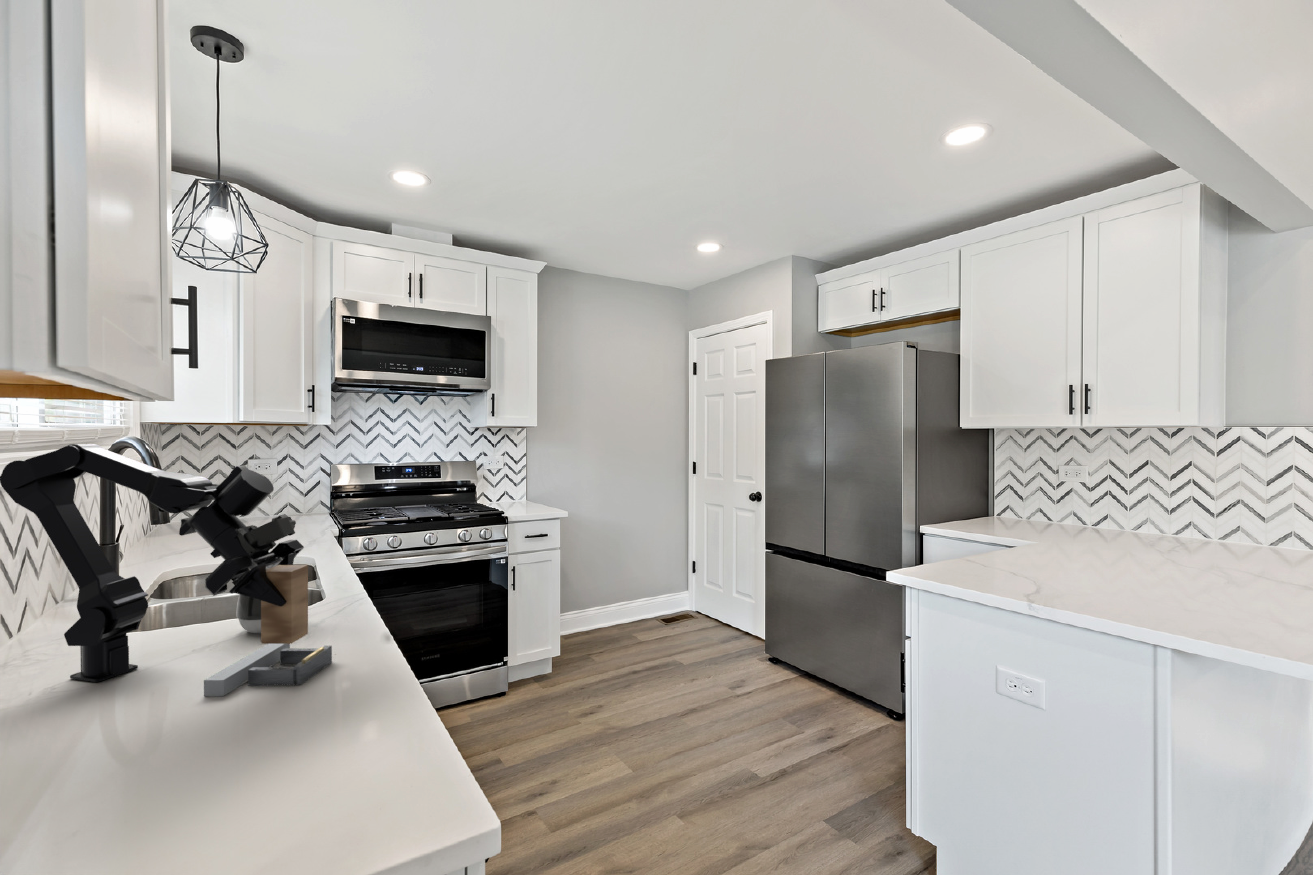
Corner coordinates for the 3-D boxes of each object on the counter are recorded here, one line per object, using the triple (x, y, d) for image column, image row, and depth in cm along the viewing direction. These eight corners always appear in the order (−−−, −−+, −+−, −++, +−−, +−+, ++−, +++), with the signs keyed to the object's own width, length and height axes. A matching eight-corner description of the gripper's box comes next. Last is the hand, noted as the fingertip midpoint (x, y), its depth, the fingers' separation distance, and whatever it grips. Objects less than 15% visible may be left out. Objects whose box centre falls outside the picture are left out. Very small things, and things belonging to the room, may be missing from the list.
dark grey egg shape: (280, 618, 136) (280, 549, 136) (303, 627, 130) (303, 555, 130) (227, 631, 128) (226, 557, 128) (249, 641, 122) (248, 563, 122)
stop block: (261, 643, 104) (261, 571, 103) (278, 633, 109) (278, 564, 108) (291, 643, 104) (291, 571, 103) (307, 633, 109) (307, 564, 108)
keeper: (248, 685, 101) (248, 664, 101) (284, 662, 111) (284, 643, 111) (300, 685, 101) (300, 664, 101) (331, 662, 111) (331, 643, 111)
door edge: (203, 696, 97) (203, 680, 97) (273, 654, 115) (273, 640, 115) (223, 696, 97) (223, 680, 97) (289, 654, 115) (289, 640, 115)
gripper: (224, 508, 96) (296, 579, 97) (292, 495, 115) (353, 555, 115) (172, 559, 96) (245, 630, 97) (249, 538, 115) (310, 597, 115)
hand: (293, 599), depth 106 cm, fingers closed on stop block, 5 cm apart
